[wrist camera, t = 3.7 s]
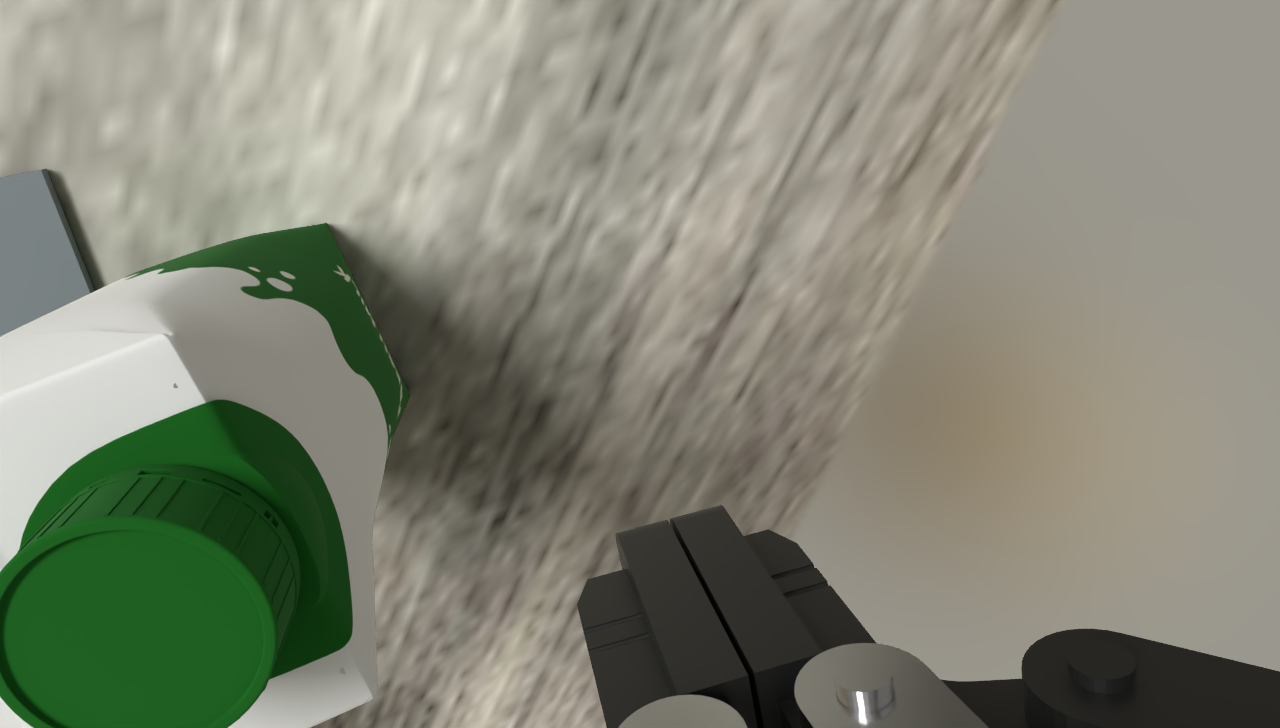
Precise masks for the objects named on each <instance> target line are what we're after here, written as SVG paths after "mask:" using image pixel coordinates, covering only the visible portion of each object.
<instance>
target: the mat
mask: <svg viewBox="0 0 1280 728" xmlns="http://www.w3.org/2000/svg"><path fill="white" fill-rule="evenodd" d="M94 291H95V289H94V287H93V284H92V282H91V279H90V277H89V274H88V272H87V269H86V267H85V264H84V262H83V259H82V257H81V254H80V252H79V249H78V247H77V244H76V242H75V239H74V237H73V234H72V232H71V229H70V227H69V224H68V222H67V219H66V217H65V214H64V212H63V209H62V207H61V204H60V202H59V199H58V197H57V194H56V191H55V189H54V186H53V184H52V181H51V179H50V176H49V174H48V171H47V169H43V170H37V171H32V172H27V173H22V174H17V175H12V176H7V177H2V178H0V337H1V336H3V335H5V334H6V333H9V332H11V331H13V330H15V329H17V328H19V327H21V326H23V325H25V324H27V323H29V322H32V321H34V320H36V319H38V318H40V317H42V316H44V315H46V314H48V313H50V312H52V311H55V310H57V309H59V308H61V307H63V306H65V305H67V304H69V303H71V302H73V301H75V300H78V299H80V298H82V297H84V296H86V295H88V294H90V293H92V292H94Z"/></svg>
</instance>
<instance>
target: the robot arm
mask: <svg viewBox="0 0 1280 728" xmlns="http://www.w3.org/2000/svg"><path fill="white" fill-rule="evenodd" d="M616 541H617V546H618V551H619V556H620V560H621V565H622V569H623V570H620V571H617V572H613V573H609V574H606V575H602V576H598V577H595V578H591V579H588V580H587V582H586V584H585V587H584V589H583V592H582V594H581V597H580V599H579V601H578V604H577V606H578V610H579V614H580V618H581V623H582V627H583V631H584V635H585V639H586V643H587V647H588V651H589V656H590V660H591V664H592V668H593V672H594V676H595V680H596V684H597V689H598V693H599V697H600V701H601V705H602V709H603V713H604V717H605V722H606V726H607V728H1280V672H1279V671H1275V670H1271V669H1267V668H1263V667H1258V666H1254V665H1250V664H1246V663H1242V662H1238V661H1234V660H1230V659H1225V658H1221V657H1217V656H1213V655H1209V654H1205V653H1201V652H1196V651H1192V650H1188V649H1184V648H1180V647H1176V646H1172V645H1168V644H1163V643H1159V642H1155V641H1151V640H1147V639H1143V638H1138V637H1135V636H1131V635H1126V634H1122V633H1118V632H1112V631H1108V630H1098V629H1074V630H1066V631H1061V632H1056V633H1053V634H1051V635H1048V636H1045V637H1044V638H1042V639H1040V640H1038V641H1036V642H1035V643H1034V644H1033V645H1031V646H1030V647H1029V649H1028V650H1027V651H1026V653H1025V655H1024V657H1023V660H1022V679H1010V680H992V681H972V682H956V681H946V680H940V679H939V678H938V677H937V676H936V675H935V674H934V673H933V672H932V671H931V670H930V669H929V668H928V667H927V666H926V665H925V664H924V663H923V662H922V661H920V660H919V659H918V658H917V657H915V656H913V655H911V654H910V653H908V652H905V651H903V650H901V649H899V648H895V647H892V646H888V645H882V644H877V643H876V642H875V641H874V640H873V638H872V637H871V636H870V635H869V633H868V632H867V631H866V630H865V628H864V627H863V626H862V625H861V623H860V622H859V621H858V619H857V618H856V617H855V616H854V614H853V613H852V612H851V611H850V610H849V608H848V607H847V606H846V605H845V603H844V602H843V601H842V599H841V598H840V597H839V596H838V595H837V593H836V592H835V591H834V589H833V588H832V587H831V586H828V584H827V581H826V579H825V578H824V577H823V576H822V574H821V573H820V572H819V570H818V569H817V568H814V565H813V563H812V562H811V560H810V559H809V558H808V557H807V555H806V554H805V553H804V552H803V550H802V549H801V548H800V547H799V545H798V544H797V543H795V542H793V541H791V540H789V539H787V538H785V537H783V536H781V535H779V534H777V533H774V532H772V531H770V530H765V531H761V532H758V533H754V534H750V535H747V536H743V535H742V533H741V532H740V531H739V529H738V528H737V526H736V525H735V523H734V522H733V520H732V519H731V517H730V516H729V514H728V513H727V511H726V510H725V509H724V507H723V506H721V505H720V506H716V507H712V508H709V509H705V510H701V511H698V512H694V513H690V514H686V515H683V516H679V517H675V518H672V519H670V524H669V522H668V521H667V520H665V521H661V522H657V523H654V524H650V525H646V526H643V527H639V528H635V529H631V530H628V531H624V532H620V533H616Z"/></svg>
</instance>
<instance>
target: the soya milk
mask: <svg viewBox="0 0 1280 728" xmlns="http://www.w3.org/2000/svg"><path fill="white" fill-rule="evenodd" d="M409 397H410V393H409V391H408V389H407V387H406V385H405V383H404V381H403V379H402V377H401V375H400V373H399V371H398V368H397V366H396V364H395V362H394V360H393V358H392V356H391V354H390V352H389V350H388V348H387V346H386V344H385V342H384V340H383V337H382V335H381V333H380V331H379V329H378V327H377V325H376V323H375V321H374V319H373V317H372V315H371V313H370V311H369V308H368V306H367V304H366V302H365V300H364V298H363V296H362V294H361V292H360V290H359V288H358V286H357V284H356V282H355V280H354V277H353V275H352V273H351V271H350V269H349V267H348V265H347V263H346V261H345V259H344V257H343V255H342V253H341V251H340V249H339V246H338V244H337V242H336V240H335V238H334V236H333V234H332V232H331V230H330V228H329V226H328V224H327V223H324V224H319V225H313V226H306V227H300V228H294V229H288V230H281V231H275V232H269V233H263V234H258V235H253V236H249V237H245V238H241V239H237V240H233V241H229V242H226V243H223V244H219V245H216V246H213V247H210V248H207V249H204V250H200V251H197V252H194V253H191V254H188V255H185V256H182V257H179V258H176V259H173V260H170V261H167V262H164V263H162V264H159V265H156V266H153V267H150V268H147V269H144V270H142V271H139V272H136V273H134V274H131V275H129V276H127V277H124V278H122V279H120V280H118V281H116V282H113V283H111V284H109V285H107V286H105V287H103V288H101V289H99V290H97V291H94V292H92V293H90V294H88V295H86V296H84V297H82V298H80V299H78V300H75V301H73V302H71V303H69V304H67V305H65V306H63V307H61V308H59V309H57V310H55V311H52V312H50V313H48V314H46V315H44V316H42V317H40V318H38V319H36V320H34V321H32V322H29V323H27V324H25V325H23V326H21V327H19V328H17V329H15V330H13V331H11V332H9V333H6V334H5V335H3V336H1V337H0V728H311V727H313V726H315V725H318V724H320V723H322V722H324V721H326V720H329V719H331V718H333V717H335V716H338V715H340V714H342V713H344V712H347V711H349V710H351V709H353V708H355V707H357V706H360V705H362V704H364V703H366V702H368V701H371V700H372V699H373V697H374V695H375V694H376V693H377V691H378V676H377V648H376V621H375V592H374V562H373V521H374V516H375V512H376V507H377V503H378V498H379V494H380V489H381V485H382V480H383V476H384V471H385V467H386V462H387V458H388V454H389V449H390V445H391V440H392V437H393V434H394V432H395V430H396V427H397V425H398V423H399V420H400V418H401V416H402V413H403V411H404V409H405V406H406V404H407V402H408V399H409Z"/></svg>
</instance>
